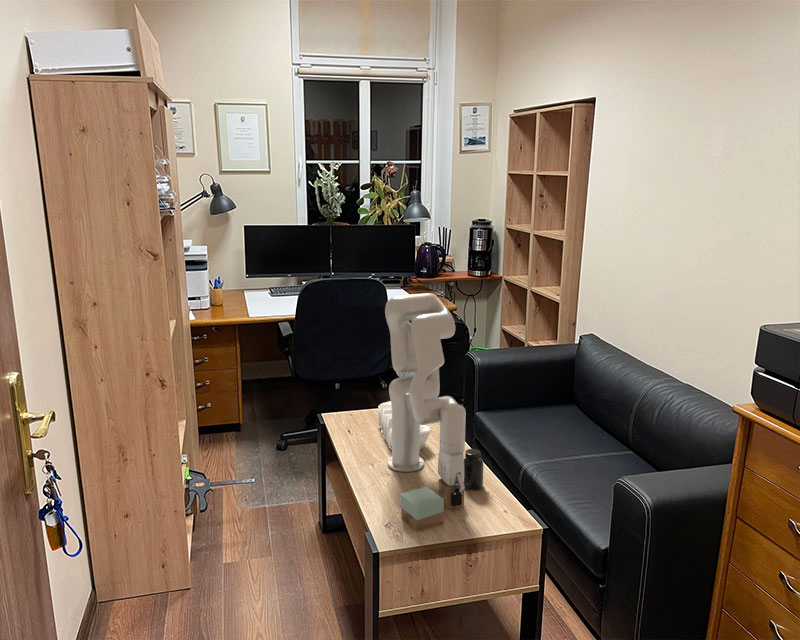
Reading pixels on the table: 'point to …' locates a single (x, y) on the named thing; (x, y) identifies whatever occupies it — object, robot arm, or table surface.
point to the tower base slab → (423, 520)
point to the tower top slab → (421, 503)
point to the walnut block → (448, 494)
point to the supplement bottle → (473, 470)
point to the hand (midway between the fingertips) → (451, 498)
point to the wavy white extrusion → (386, 424)
